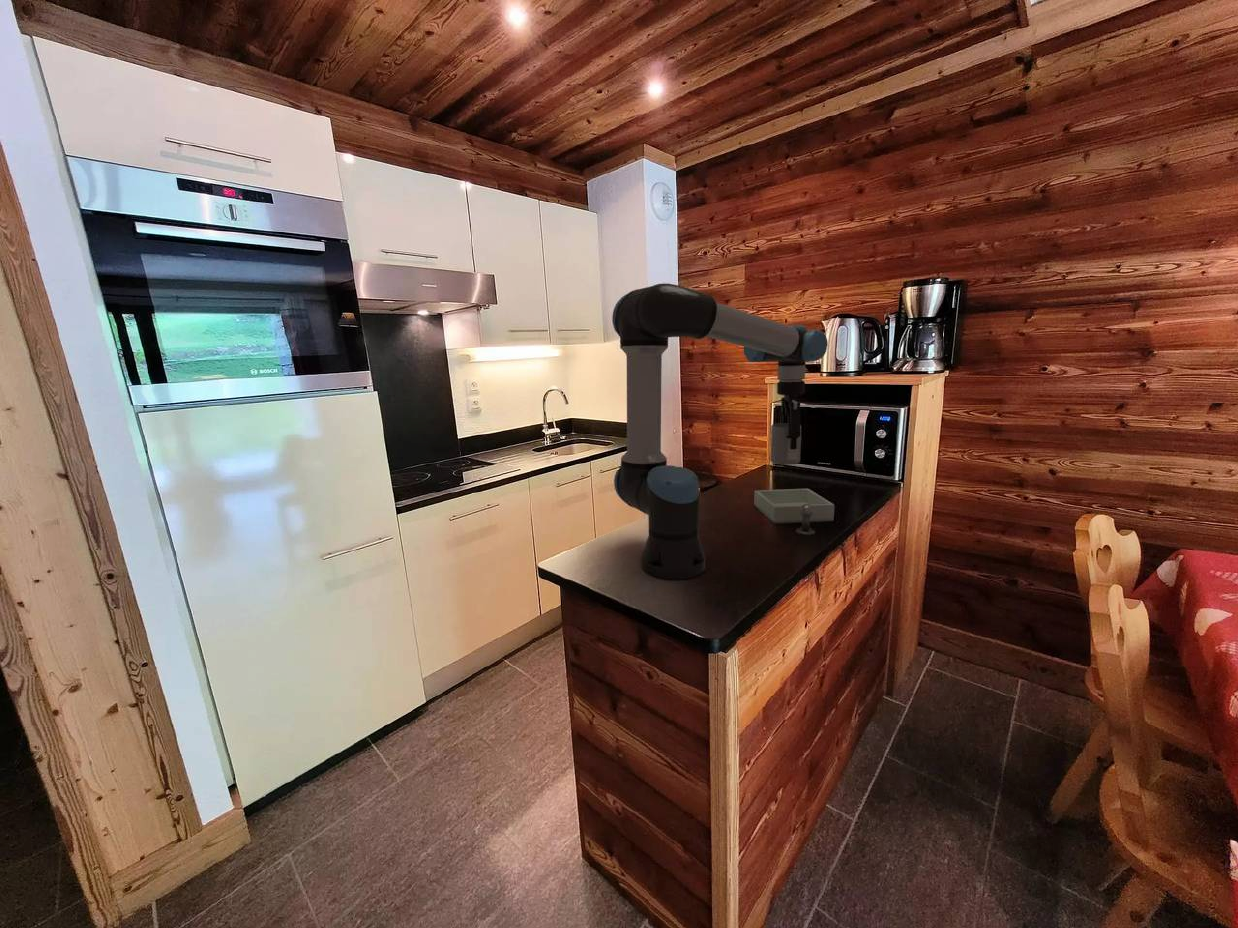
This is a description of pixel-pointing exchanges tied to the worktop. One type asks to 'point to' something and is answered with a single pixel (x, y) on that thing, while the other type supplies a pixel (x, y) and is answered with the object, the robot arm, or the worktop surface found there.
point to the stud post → (806, 520)
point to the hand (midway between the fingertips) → (788, 455)
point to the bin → (792, 505)
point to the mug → (782, 444)
